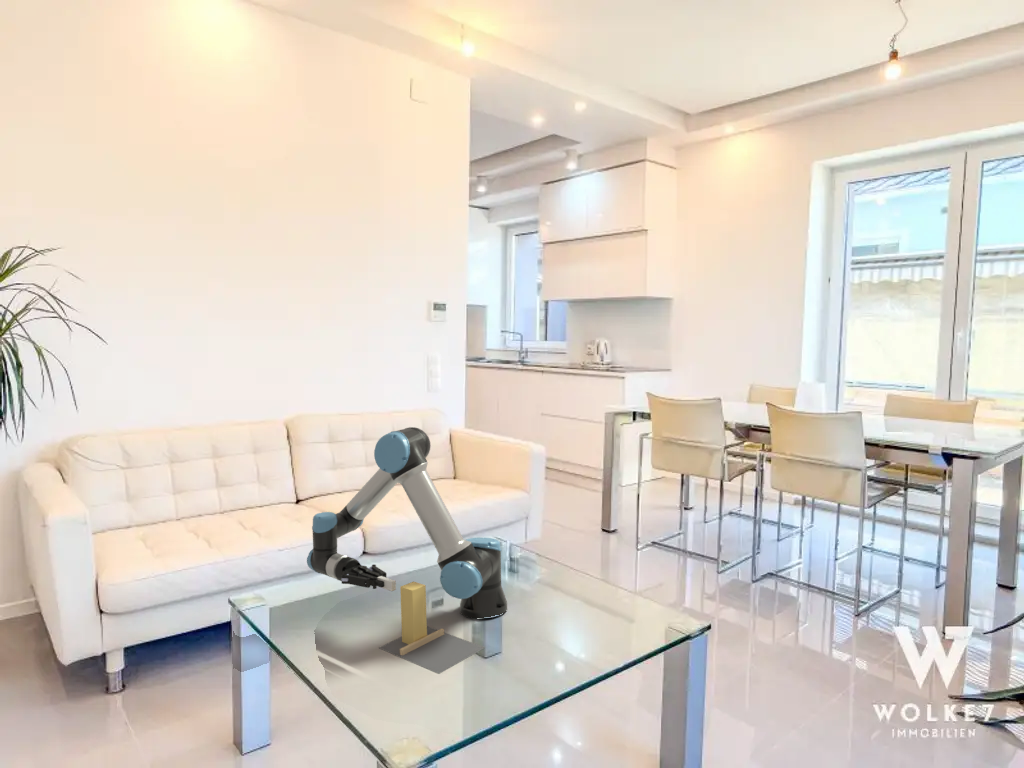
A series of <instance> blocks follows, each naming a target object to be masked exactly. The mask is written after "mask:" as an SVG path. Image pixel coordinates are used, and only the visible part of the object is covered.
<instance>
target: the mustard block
mask: <svg viewBox="0 0 1024 768" xmlns="http://www.w3.org/2000/svg"><path fill="white" fill-rule="evenodd" d="M426 589H427V587H426V585H425V584H423V583H420V582H417V581H411V582H408V583H406V584H404V585H400V615H401V616H400V619H401V637H402V642H404V643H406V644H411V643H413V642H415V641H417V640H419V639H421V638H423V637H425V636H427V626H428V625H427V624H428V623H427V594H426V593H427V590H426Z"/></svg>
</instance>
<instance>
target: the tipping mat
mask: <svg viewBox="0 0 1024 768" xmlns="http://www.w3.org/2000/svg"><path fill="white" fill-rule="evenodd" d="M485 648H486V647H485V646H483V645H480V644H477V643H474V642H472V641H468V640H467V639H463V638H461V637H457V636H455V635H453V634H450V633H447V632H445V629H444V628H440V629H436V628H434V627H431V626H428V625H427V636H425V637H423V638H421V639H419V640H417V641H415V642H413V643H411V644H406V643H404V642H402V636H401V637H398V638H396V639H394V640H392V641H389V642H387V643H385V644H384V645H380V646H379V647H378V649H380V650H383V651H385V652H387V653H390V654H392V655H394V656H397V657H398V658H401V659H403V660H406V661H408V662H410V663H411V664H415V665H417V666H420V667H421V668H423V669H426V670H429V671H431V672H433V673H436V674H441V673H442V674H443V673H444V672H446V670H449V669H451V668H452V667H454V666H456V665H458V664H459V663H462V662H463V661H464V660H467V659H469V658H470V657H472V656H473V655H475V654H477V653H478V652H480V651H482V650H484V649H485Z"/></svg>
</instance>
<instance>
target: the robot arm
mask: <svg viewBox="0 0 1024 768" xmlns="http://www.w3.org/2000/svg"><path fill="white" fill-rule="evenodd" d="M431 447H432V446H431V441H430V438H429V435H428V434H427V433H426V432H425V431H424V430H423V429H421V428H418V427H411V426H409V427H406V428H403V429H399V430H394V431H391V432H388V433H386V434H384V435H383V436H380V438H379V439H378V440H377V442H376V443H375V447H374V451H373V453H374V455H373V456H374V460H375V463H376V465H377V466H378V469H377V470H376V472H375V473H374V474H373V475H372V477H370V479H369V480H368V481H367V482H366V483H365V484H364V485H363V486H362V487H361V489H359V491H358V492H357V493H356V494H355V495H353V497H352V498H351V499H350V500H349V502H348V503H347V504H346V505H345V506H344V507H343V508H342V509H341V510H340V511H339V512H338V513H336V512H332V511H331V512H330V511H322V512H318V513H316V514H314V516H313V517H312V526H311V529H312V549H311V550H310V551H309V552H308V555H307V557H306V563H307V567H308V569H310V570H312V571H314V572H315V573H317V574H321V575H324V576H327V577H329V578H333V579H336V580H337V581H340V582H341V584H343V585H351V586H352V585H353V586H357V587H363V588H367V589H369V588H371V587H372V589H373V590H375V589H377V588H382V589H384V590H387V591H390V592H395V591H396V590H397V582H396V580H394V579H391V578H389V577H387V572H385V570H382V569H381V568H380V567H377V564H371V566H366V565H362V564H361V563H360V561H358V560H357V559H356V558H353V557H350V556H347V555H345V554H340V553H338V539H339V538H341V537H343V536H345V535H347V534H349V533H352V532H354V531H356V530H357V529H359V527H361V526H362V525H363V523H364V519H365V518H366V517H367V516H368V515H369V514H370V513H371V512H372V511H373V510H374V509H375V508H376V506H377V505H379V503H380V502H381V501H382V500H383V499H385V497H386V496H387V494H389V492H390V491H391V490H392V489H393V488H394V487H395V486H396V485H397V484H400V485H401V486H402V488H403V490H404V493H405V494H406V496H407V497H408V499H409V502H410V503H411V504H412V506H413V509H414V510H415V513H416V514H417V516H418V518H419V520H420V521H421V524H422V525H423V527H424V529H425V531H426V533H427V534H428V535H427V536H428V537H429V538H430V540H431V542H432V545H434V548H435V550H436V552H437V554H438V557H437V561H436V562H437V564H438V566H439V569H440V570H441V571H440V576H439V580H440V581H439V582H440V585H441V587H442V589H443V590H444V591H445V592H446V594H448V596H451V598H456V599H459V600H460V602H459V613H460V614H461V615H463V617H466V618H468V619H473V620H478V619H477V618H484V617H491V616H495V615H500V614H502V613H504V612H505V611H506V610H507V611H508V600H507V597H506V595H505V593H504V589H503V587H502V555H501V553H502V549H501V542H500V541H499V540H498V539H496V538H493V537H492V538H491V537H470V538H467V539H464V537H463V536H462V534H461V532H460V530H459V528H458V526H457V524H456V522H455V521H454V519H453V517H452V515H451V514H450V512H449V509H448V508H447V506H446V504H445V502H444V500H443V498H442V497H441V495H440V493H439V491H438V489H437V487H436V486H435V483H434V482H433V480H432V478H431V477H430V474H429V473H428V471H427V467H428V465H429V462H428V460H427V459H426V458H427V457H428V456H429V454H430V451H431ZM507 611H506V612H507Z"/></svg>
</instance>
